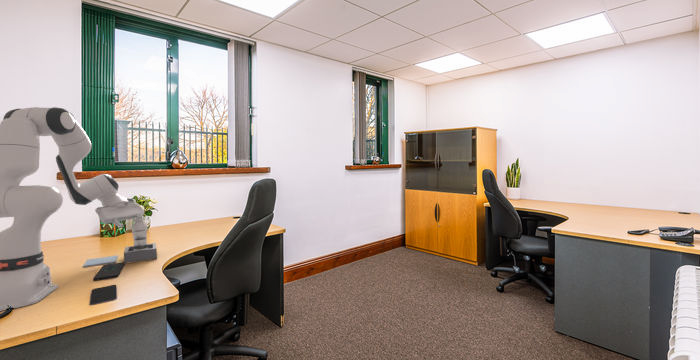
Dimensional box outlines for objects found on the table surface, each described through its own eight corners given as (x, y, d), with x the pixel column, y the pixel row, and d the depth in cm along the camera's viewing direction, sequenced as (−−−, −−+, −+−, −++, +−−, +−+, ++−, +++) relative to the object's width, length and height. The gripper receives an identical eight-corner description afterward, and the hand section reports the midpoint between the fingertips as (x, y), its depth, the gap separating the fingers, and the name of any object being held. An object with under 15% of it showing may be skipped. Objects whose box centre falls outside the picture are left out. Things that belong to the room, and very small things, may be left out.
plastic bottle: (141, 259, 150) (139, 219, 149) (129, 259, 151) (127, 218, 150) (152, 256, 156) (150, 216, 155) (141, 255, 158) (139, 216, 157)
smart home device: (125, 261, 144) (117, 274, 127) (125, 264, 144) (118, 278, 127) (103, 264, 140) (92, 278, 123) (103, 268, 141) (92, 282, 123)
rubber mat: (115, 262, 147) (115, 261, 147) (82, 267, 140) (82, 266, 140) (118, 256, 157) (118, 255, 157) (87, 260, 150) (87, 259, 150)
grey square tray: (157, 258, 152) (156, 248, 152) (124, 263, 145) (123, 252, 145) (156, 252, 163) (156, 243, 163) (126, 256, 156) (125, 247, 156)
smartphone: (89, 305, 101) (91, 289, 113) (89, 308, 101) (91, 292, 113) (117, 298, 105) (116, 284, 117) (117, 301, 105) (116, 286, 117)
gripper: (96, 203, 146) (112, 224, 144) (137, 198, 166) (152, 217, 164) (90, 212, 148) (106, 233, 146) (131, 206, 167) (146, 225, 165)
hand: (131, 225), depth 155 cm, fingers open, 8 cm apart
